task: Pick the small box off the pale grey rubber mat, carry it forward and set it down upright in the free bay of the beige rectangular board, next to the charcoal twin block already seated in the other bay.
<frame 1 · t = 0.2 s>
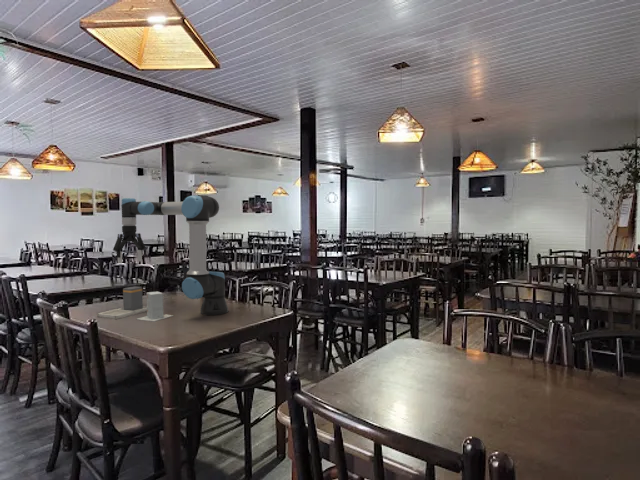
hand: (130, 262, 242), 28 cm above the table, fingers open, 13 cm apart
beige rectangular board: (125, 313, 234), on the table
mat: (155, 317, 224), on the table
twin block: (133, 311, 239), resting on beige rectangular board
small box: (155, 317, 224), resting on mat
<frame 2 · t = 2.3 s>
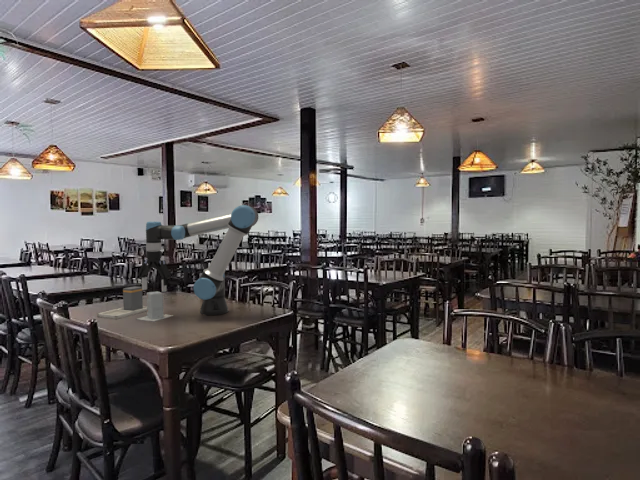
hand: (154, 290, 223), 15 cm above the table, fingers open, 13 cm apart
nothing on the table moved.
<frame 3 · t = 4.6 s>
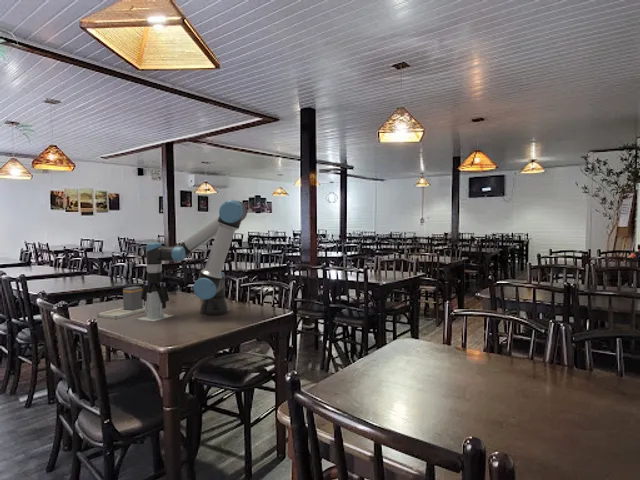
hand: (155, 313, 224), 2 cm above the table, fingers closed on small box, 10 cm apart
small box: (155, 317, 224), resting on mat, touching gripper
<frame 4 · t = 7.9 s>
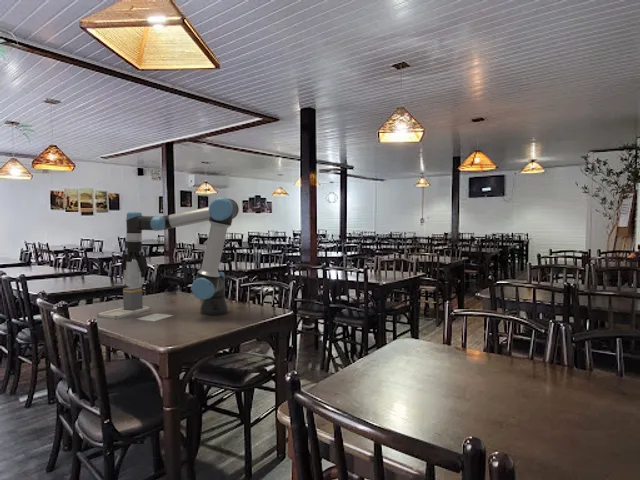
hand: (134, 282, 225), 18 cm above the table, fingers closed on small box, 10 cm apart
small box: (134, 286, 225), point 16 cm above the table, touching gripper
when the fingers open (3 cm above the table, at t = 11.4 s): small box stays where it is, resting on beige rectangular board.
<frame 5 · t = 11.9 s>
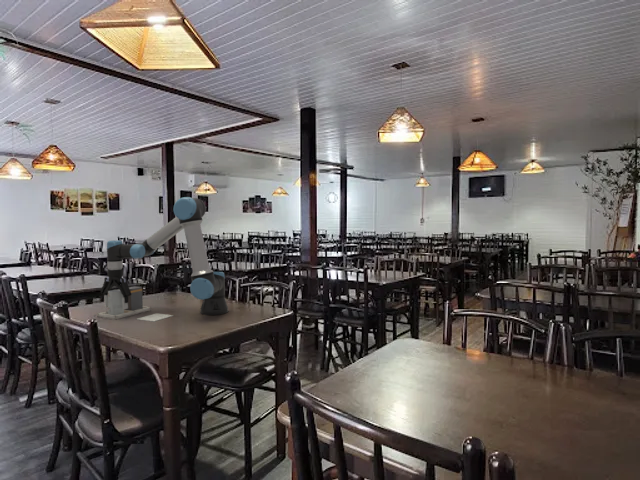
hand: (116, 307, 228), 4 cm above the table, fingers open, 13 cm apart
small box: (116, 315, 228), resting on beige rectangular board
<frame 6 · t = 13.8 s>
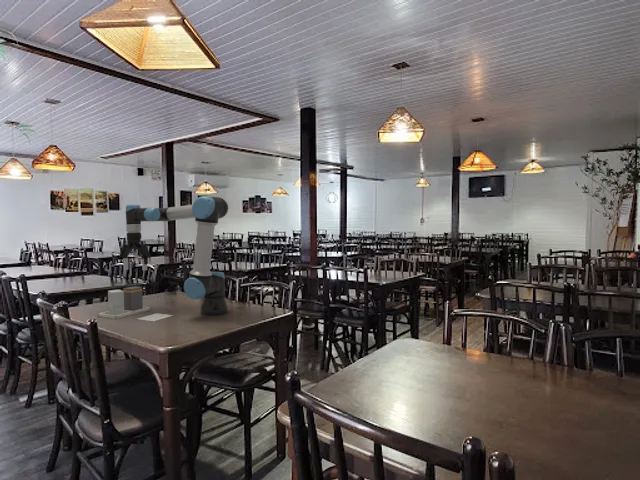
hand: (135, 270, 236), 24 cm above the table, fingers open, 13 cm apart
nothing on the table moved.
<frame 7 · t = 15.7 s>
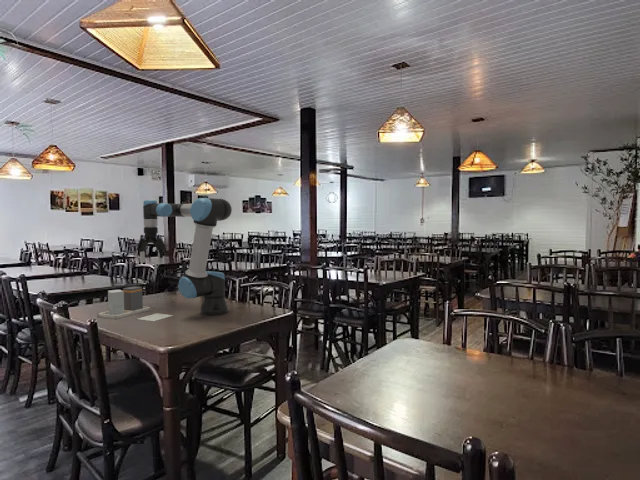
hand: (151, 263, 245), 27 cm above the table, fingers open, 13 cm apart
nothing on the table moved.
at the end: small box inside the target area on the beige rectangular board (0.0 cm from its centre), point 0.3 cm above the beige rectangular board's base; small box tilted 0°; the gripper is holding nothing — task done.
